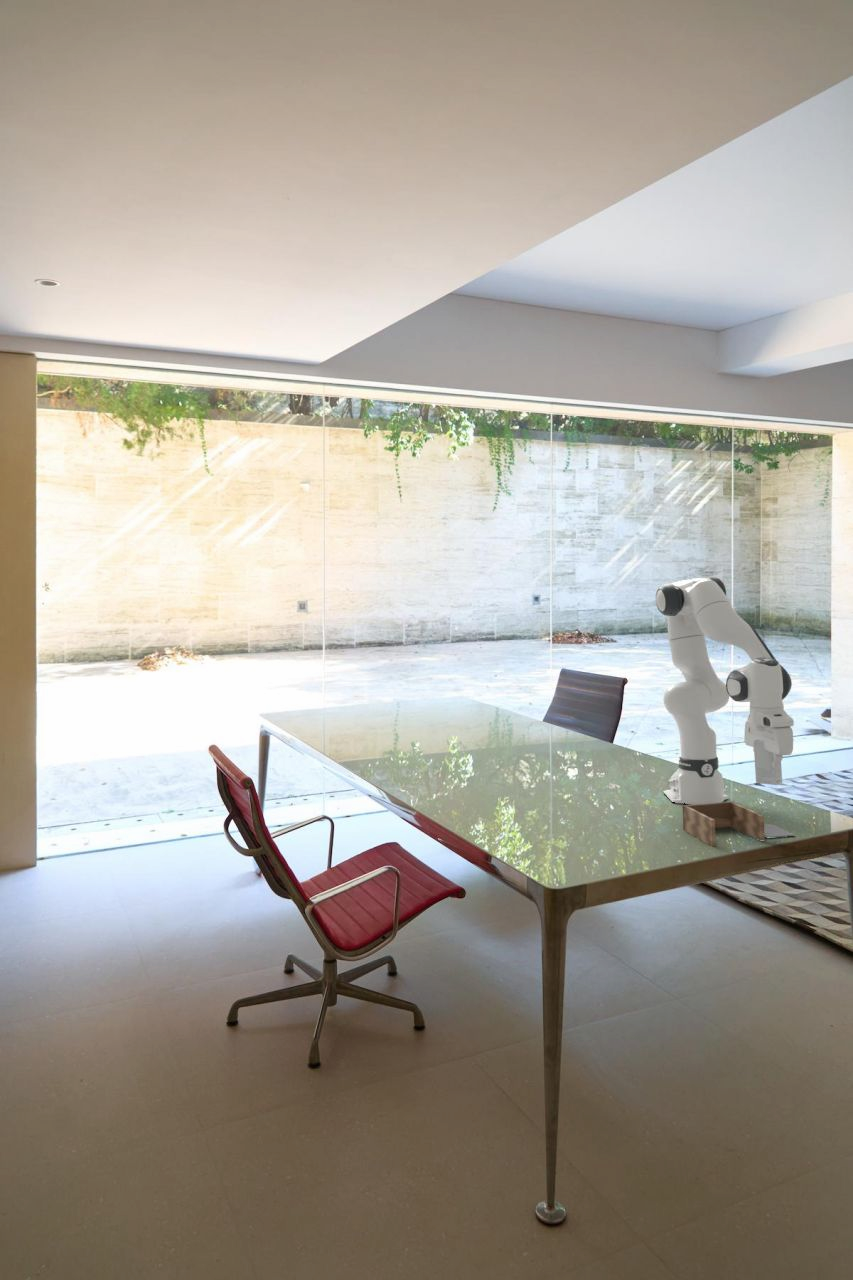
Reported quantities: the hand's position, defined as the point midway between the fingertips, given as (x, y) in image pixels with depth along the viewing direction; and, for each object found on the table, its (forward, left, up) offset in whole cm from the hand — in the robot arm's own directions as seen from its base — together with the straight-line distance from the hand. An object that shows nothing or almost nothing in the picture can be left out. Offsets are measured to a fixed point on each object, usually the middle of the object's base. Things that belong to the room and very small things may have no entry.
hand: (768, 766), depth 257 cm
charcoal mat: (0, 0, -18) cm, 19 cm away
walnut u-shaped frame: (-1, -14, -18) cm, 23 cm away
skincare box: (0, 0, -5) cm, 5 cm away
